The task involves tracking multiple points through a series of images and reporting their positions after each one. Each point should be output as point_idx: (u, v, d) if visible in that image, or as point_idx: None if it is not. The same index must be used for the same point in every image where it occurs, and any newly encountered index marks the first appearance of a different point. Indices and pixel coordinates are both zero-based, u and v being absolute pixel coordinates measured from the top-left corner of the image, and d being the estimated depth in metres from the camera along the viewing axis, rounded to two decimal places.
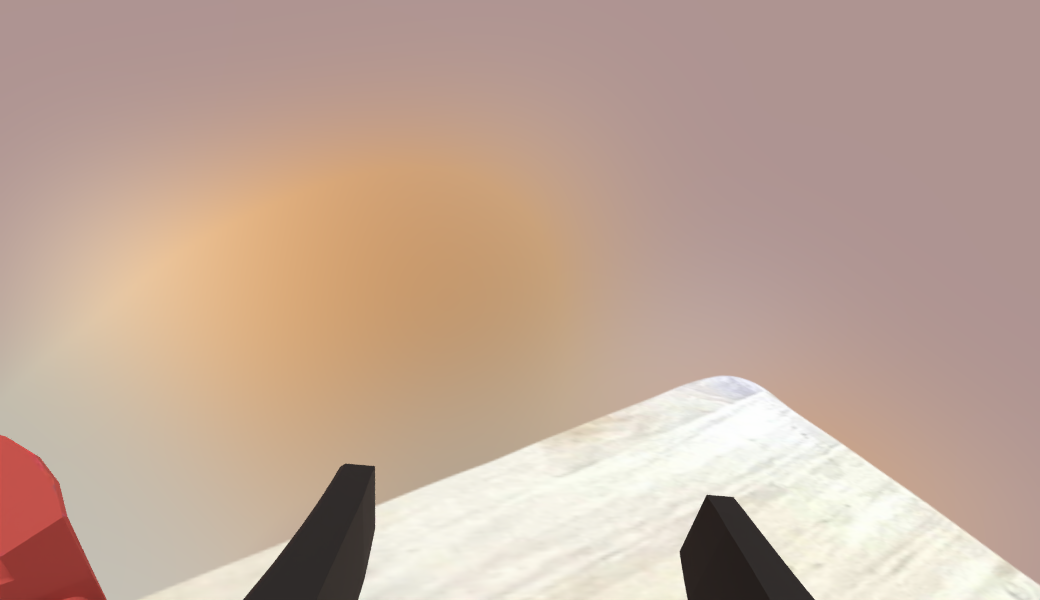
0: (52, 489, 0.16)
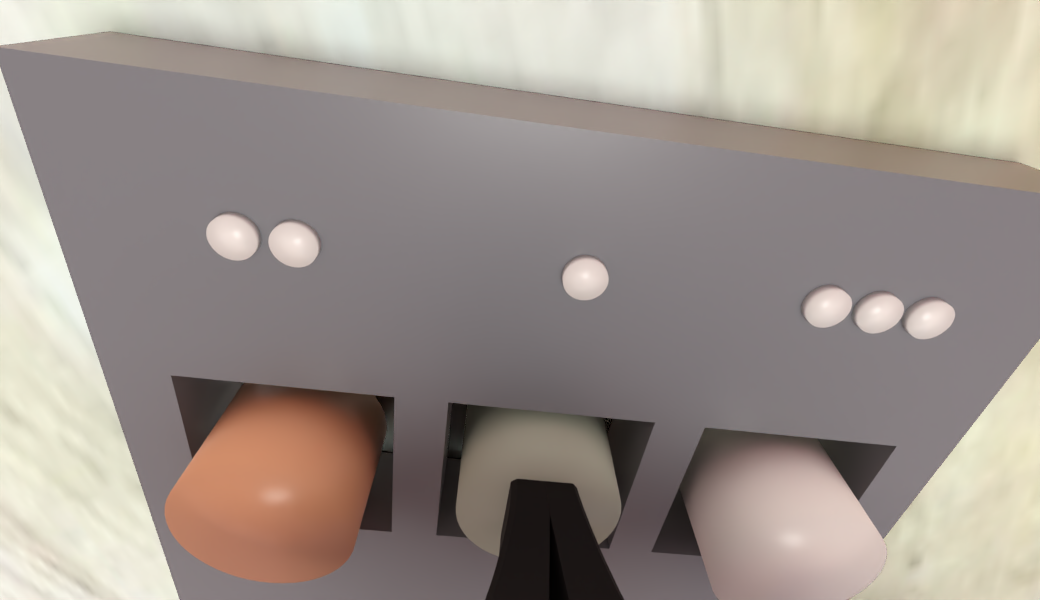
0: None
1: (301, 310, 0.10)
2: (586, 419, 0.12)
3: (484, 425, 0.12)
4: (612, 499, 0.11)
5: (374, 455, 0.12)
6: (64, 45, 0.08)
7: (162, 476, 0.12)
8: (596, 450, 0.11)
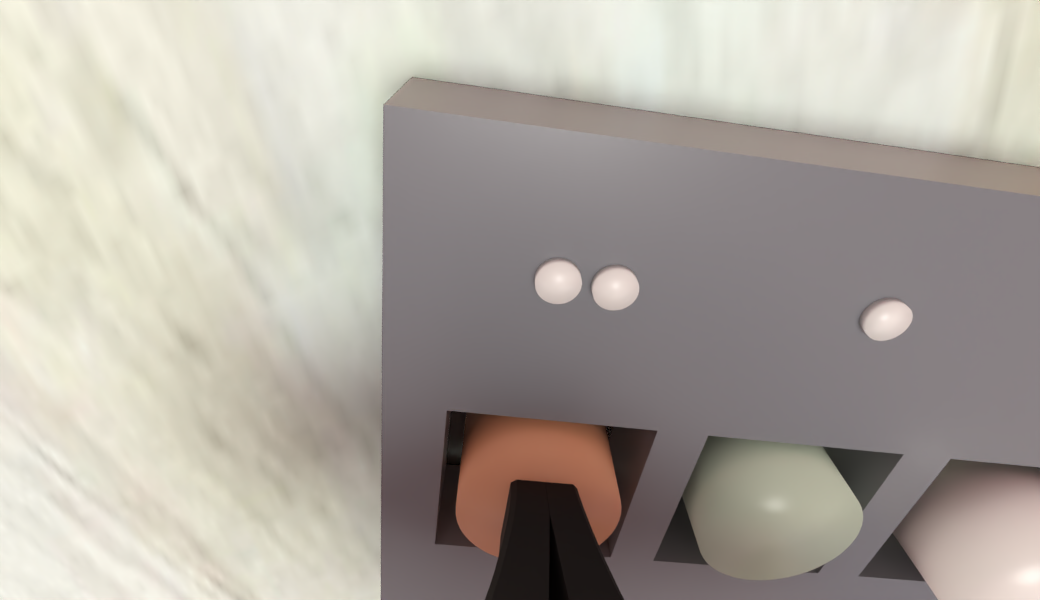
0: None
1: (596, 349, 0.10)
2: None
3: (718, 448, 0.12)
4: (855, 521, 0.12)
5: None
6: (420, 98, 0.08)
7: (404, 505, 0.12)
8: (838, 474, 0.12)
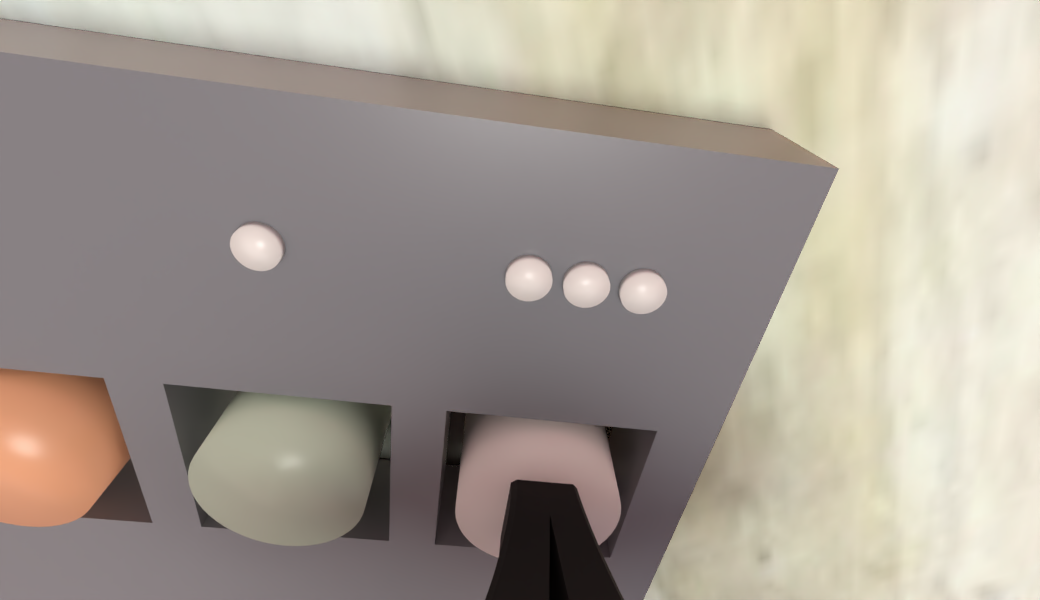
0: None
1: None
2: None
3: (230, 403, 0.12)
4: (350, 478, 0.11)
5: None
6: None
7: None
8: (335, 428, 0.11)
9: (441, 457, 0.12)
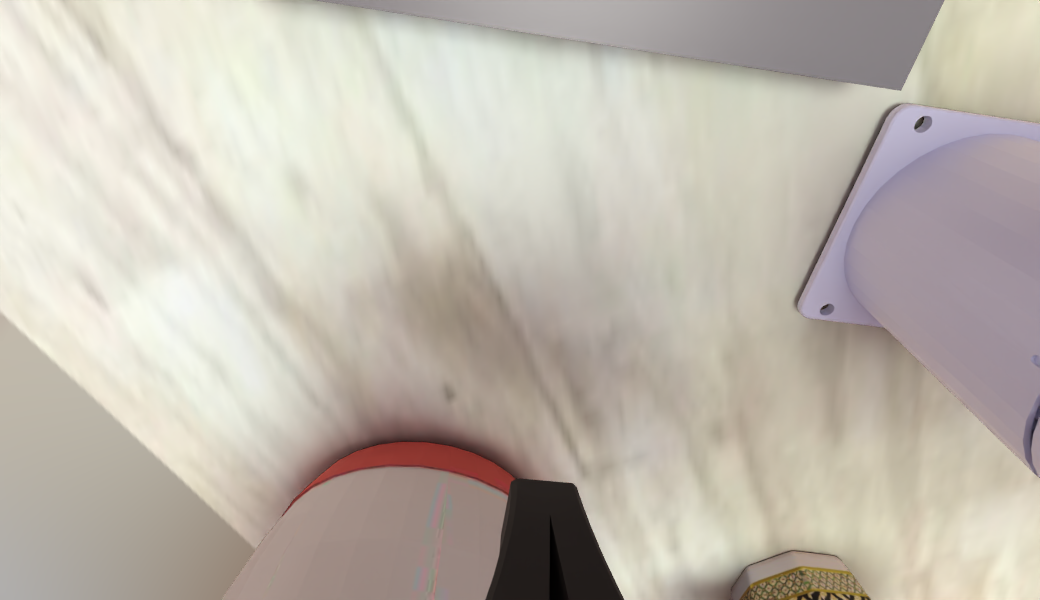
0: None
1: None
2: None
3: None
4: None
5: None
6: None
7: None
8: None
9: None
